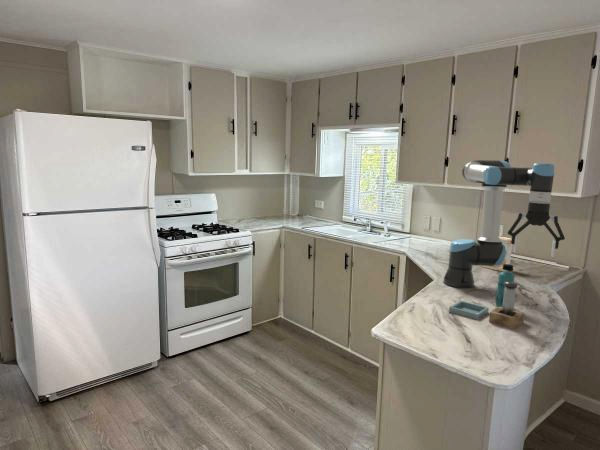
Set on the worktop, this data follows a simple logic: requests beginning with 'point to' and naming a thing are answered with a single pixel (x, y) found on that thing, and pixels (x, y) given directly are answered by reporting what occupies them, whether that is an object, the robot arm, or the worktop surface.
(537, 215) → the robot arm
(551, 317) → the worktop surface
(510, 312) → the steel pin
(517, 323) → the socket block
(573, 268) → the worktop surface
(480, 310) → the tray
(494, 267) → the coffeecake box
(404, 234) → the worktop surface
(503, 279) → the beverage bottle
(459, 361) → the worktop surface
